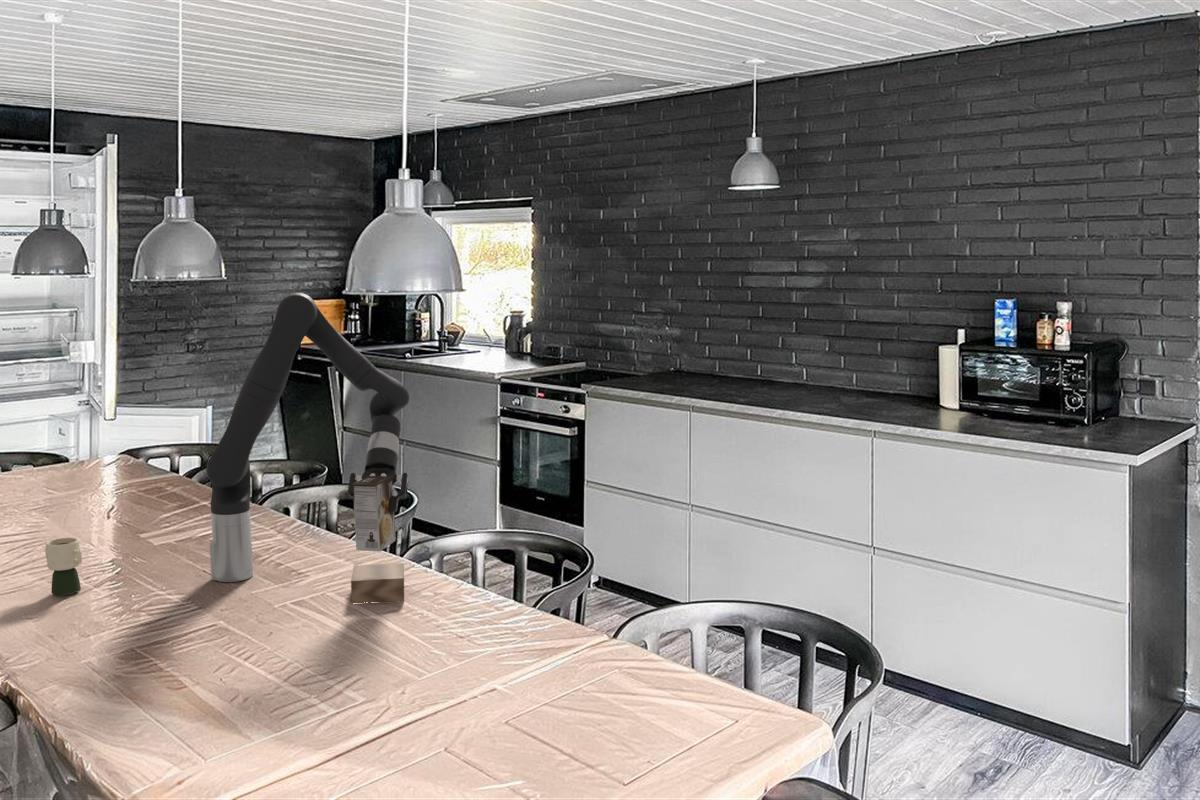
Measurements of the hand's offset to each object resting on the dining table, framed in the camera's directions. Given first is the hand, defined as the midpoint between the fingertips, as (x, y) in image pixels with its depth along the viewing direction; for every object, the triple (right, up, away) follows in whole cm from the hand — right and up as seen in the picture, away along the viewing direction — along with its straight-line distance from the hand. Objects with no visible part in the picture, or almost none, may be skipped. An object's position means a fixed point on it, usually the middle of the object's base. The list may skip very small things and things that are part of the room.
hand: (375, 512), depth 245 cm
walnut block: (0, -20, +4) cm, 21 cm away
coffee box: (0, -8, +2) cm, 8 cm away
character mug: (-75, -20, +5) cm, 78 cm away
